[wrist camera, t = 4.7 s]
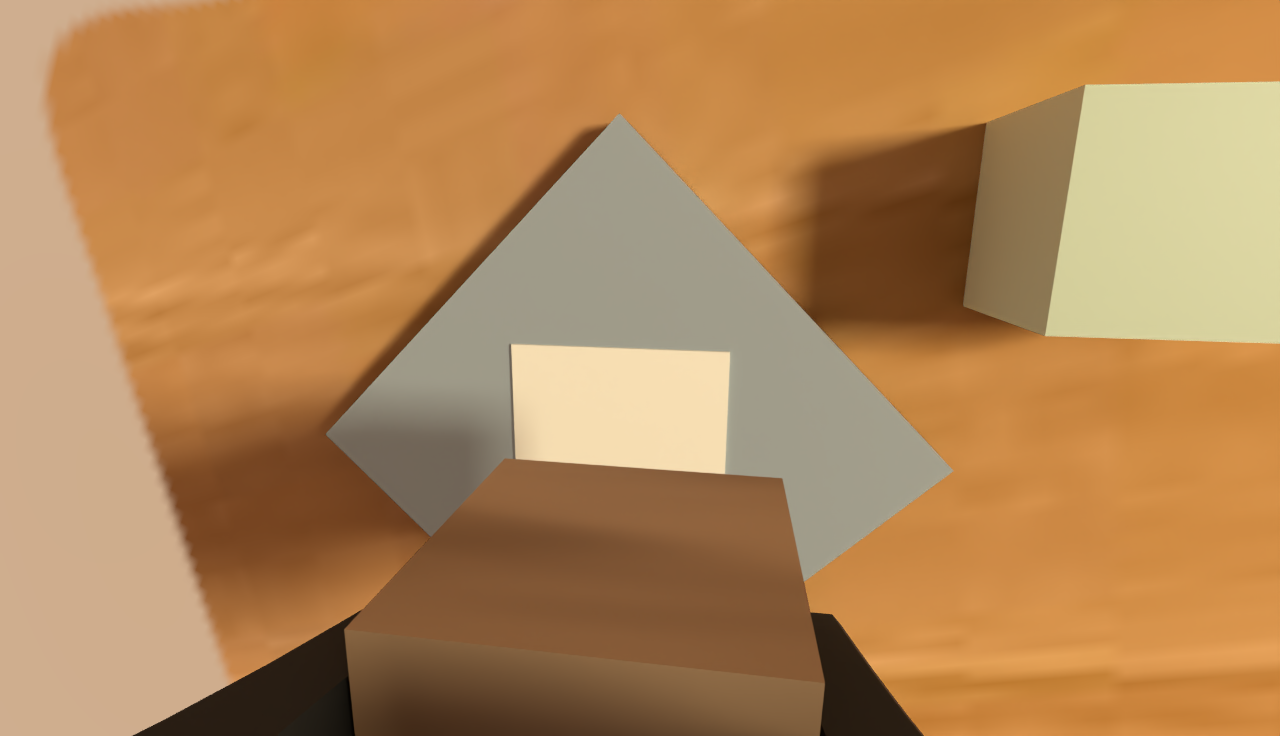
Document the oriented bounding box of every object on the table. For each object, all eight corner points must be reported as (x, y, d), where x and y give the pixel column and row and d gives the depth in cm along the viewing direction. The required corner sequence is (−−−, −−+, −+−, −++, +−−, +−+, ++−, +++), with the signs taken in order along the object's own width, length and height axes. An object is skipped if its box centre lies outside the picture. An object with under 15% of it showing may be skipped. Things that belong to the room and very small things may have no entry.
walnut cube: (763, 720, 10) (786, 1055, 6) (512, 690, 10) (379, 979, 6) (782, 478, 9) (824, 683, 5) (504, 458, 9) (343, 630, 5)
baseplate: (624, 693, 18) (617, 722, 17) (347, 422, 17) (322, 435, 16) (939, 455, 15) (954, 473, 14) (626, 120, 15) (618, 112, 14)
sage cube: (1149, 311, 14) (1308, 344, 10) (961, 305, 15) (1045, 335, 11) (1187, 121, 13) (1376, 80, 9) (984, 123, 14) (1085, 84, 10)
